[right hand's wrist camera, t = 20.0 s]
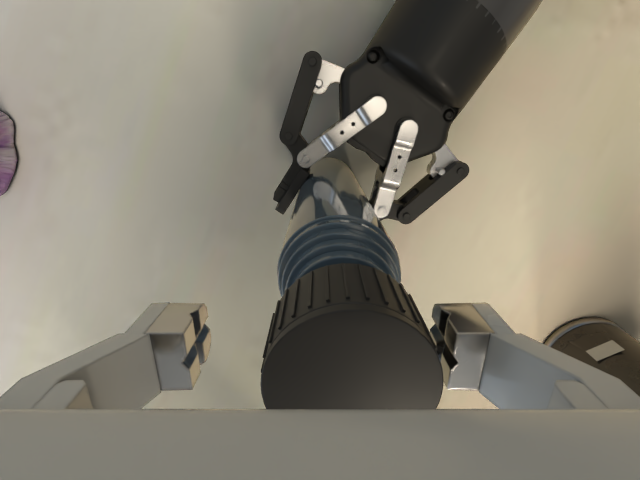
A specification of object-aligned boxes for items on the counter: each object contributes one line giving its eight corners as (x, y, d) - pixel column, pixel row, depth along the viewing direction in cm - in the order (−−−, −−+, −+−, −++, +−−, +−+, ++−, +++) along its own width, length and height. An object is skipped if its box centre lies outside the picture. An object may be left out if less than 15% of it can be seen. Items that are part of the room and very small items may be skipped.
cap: (381, 235, 9) (402, 275, 7) (438, 353, 11) (472, 420, 8) (244, 299, 10) (221, 355, 8) (313, 403, 11) (312, 478, 9)
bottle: (318, 219, 33) (314, 467, 10) (291, 174, 32) (210, 341, 8) (364, 193, 32) (479, 399, 9) (338, 146, 31) (395, 244, 7)
